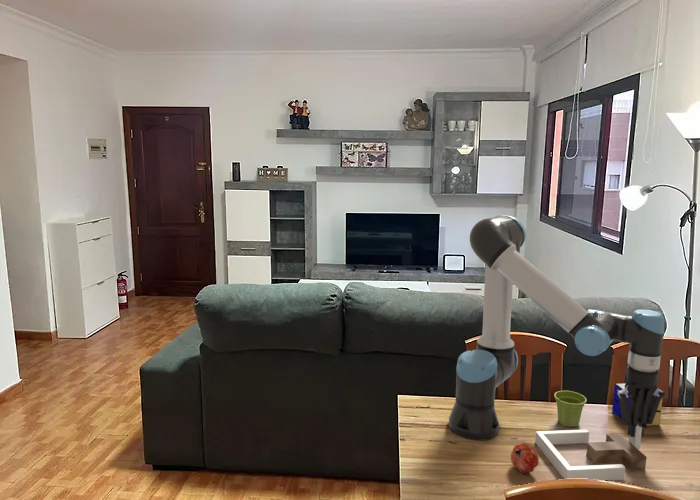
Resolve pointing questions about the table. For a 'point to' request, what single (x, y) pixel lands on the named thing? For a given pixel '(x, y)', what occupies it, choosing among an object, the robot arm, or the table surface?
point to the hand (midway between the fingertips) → (634, 446)
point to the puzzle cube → (617, 405)
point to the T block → (616, 452)
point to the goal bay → (591, 472)
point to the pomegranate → (524, 457)
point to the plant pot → (569, 407)
